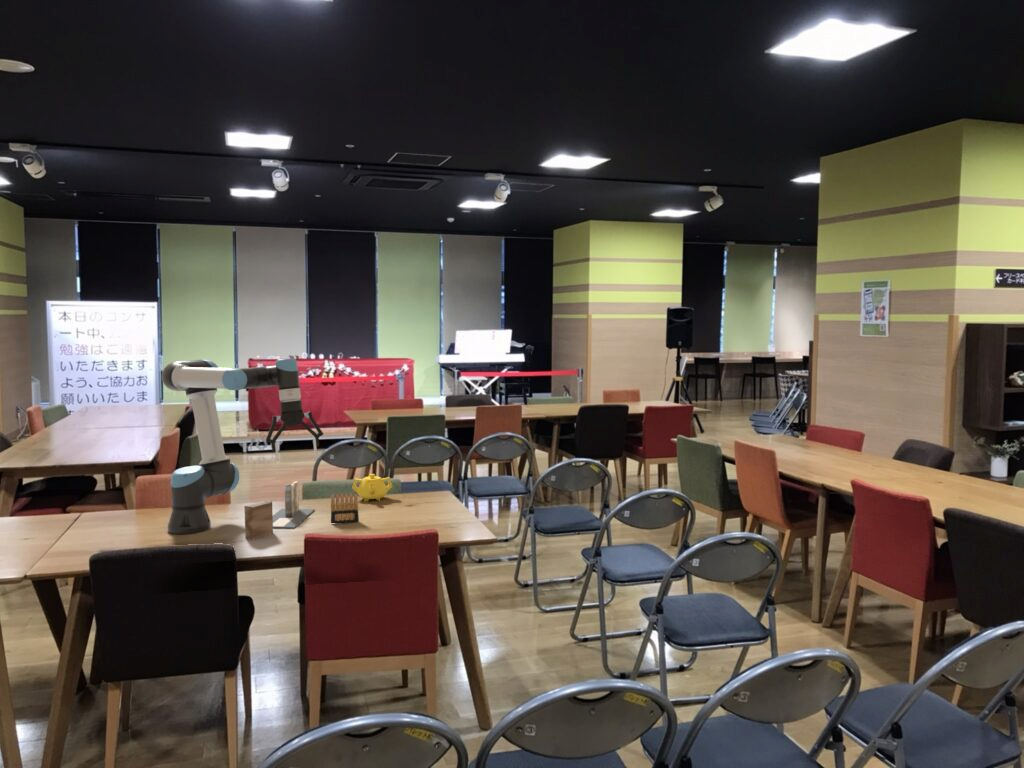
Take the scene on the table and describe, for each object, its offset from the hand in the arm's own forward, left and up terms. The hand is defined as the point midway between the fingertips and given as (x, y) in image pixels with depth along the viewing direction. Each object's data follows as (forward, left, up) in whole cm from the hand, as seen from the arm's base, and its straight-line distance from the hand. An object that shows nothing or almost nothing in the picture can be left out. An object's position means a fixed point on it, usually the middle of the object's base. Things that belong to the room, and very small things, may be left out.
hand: (297, 458), depth 280 cm
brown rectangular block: (-13, -7, -29) cm, 33 cm away
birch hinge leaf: (-25, +20, -29) cm, 43 cm away
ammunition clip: (+1, +23, -29) cm, 37 cm away
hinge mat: (-22, +15, -29) cm, 40 cm away
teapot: (-16, +58, -29) cm, 67 cm away
